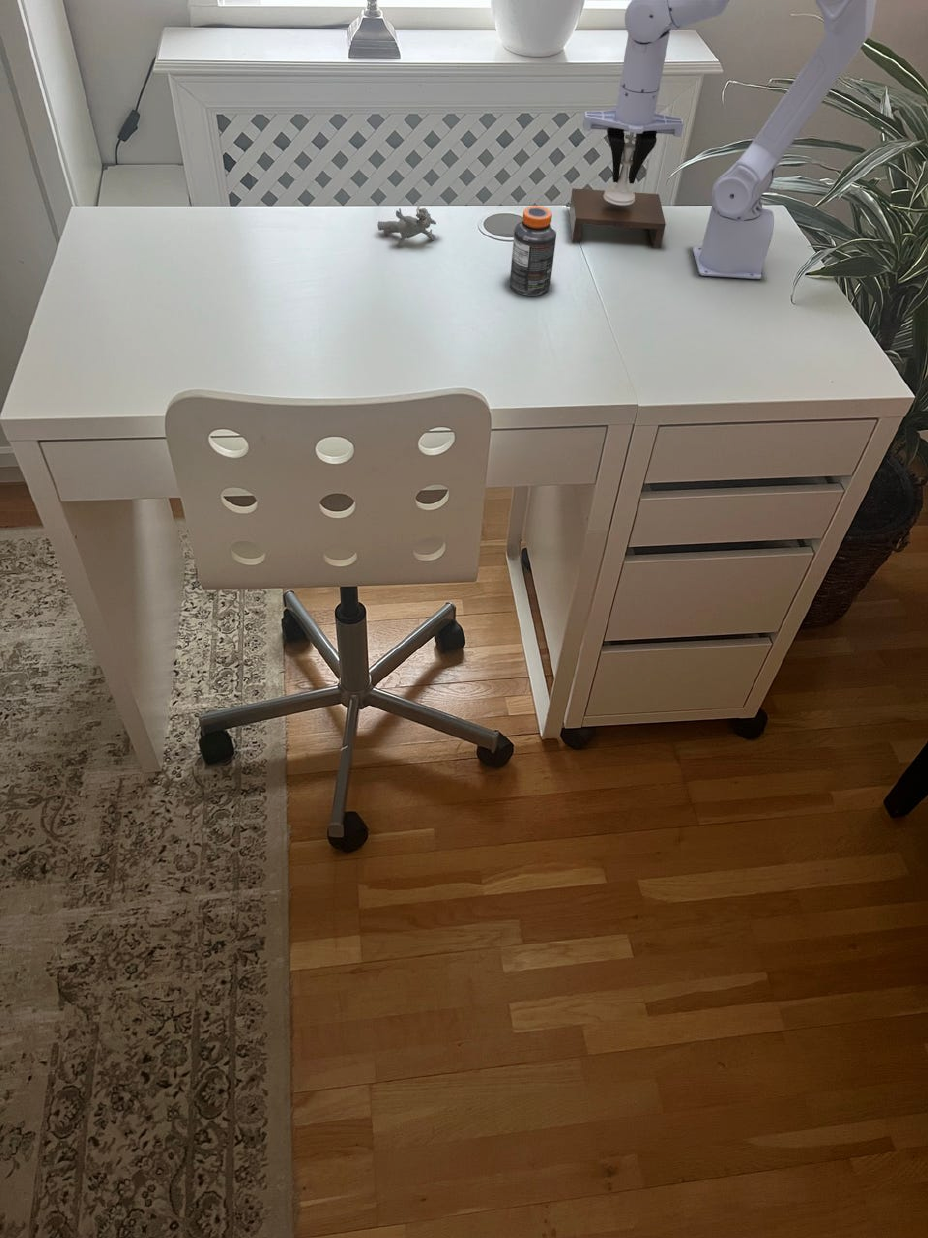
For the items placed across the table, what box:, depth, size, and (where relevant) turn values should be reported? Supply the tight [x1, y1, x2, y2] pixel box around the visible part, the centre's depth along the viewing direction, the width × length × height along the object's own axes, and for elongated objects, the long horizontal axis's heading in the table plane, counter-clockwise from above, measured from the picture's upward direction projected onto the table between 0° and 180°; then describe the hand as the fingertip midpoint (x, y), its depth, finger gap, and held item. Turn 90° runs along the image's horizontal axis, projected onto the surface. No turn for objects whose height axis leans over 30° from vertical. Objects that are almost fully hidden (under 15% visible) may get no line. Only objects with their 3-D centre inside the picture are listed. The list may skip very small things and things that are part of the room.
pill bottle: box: [509, 205, 557, 297], centre depth 137 cm, size 6×6×11 cm
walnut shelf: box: [568, 188, 667, 249], centre depth 153 cm, size 14×10×4 cm
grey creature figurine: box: [377, 203, 437, 247], centre depth 146 cm, size 10×6×9 cm
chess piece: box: [604, 132, 637, 206], centre depth 147 cm, size 5×5×10 cm
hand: (622, 179), depth 149 cm, fingers closed on chess piece
